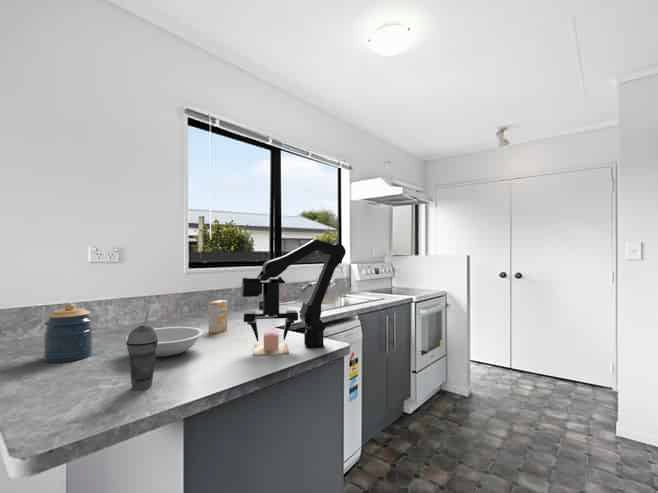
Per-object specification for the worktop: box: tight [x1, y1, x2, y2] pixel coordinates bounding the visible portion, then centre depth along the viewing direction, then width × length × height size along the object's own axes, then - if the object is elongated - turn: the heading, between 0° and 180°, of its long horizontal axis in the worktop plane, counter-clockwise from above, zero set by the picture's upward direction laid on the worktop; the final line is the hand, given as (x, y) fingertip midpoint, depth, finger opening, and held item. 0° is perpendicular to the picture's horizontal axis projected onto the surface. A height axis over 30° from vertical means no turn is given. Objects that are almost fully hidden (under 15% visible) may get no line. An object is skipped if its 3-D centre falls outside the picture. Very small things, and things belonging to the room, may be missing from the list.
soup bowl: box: [125, 326, 205, 357], centre depth 119 cm, size 24×24×7 cm
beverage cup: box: [125, 308, 158, 391], centre depth 90 cm, size 7×7×20 cm
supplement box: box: [208, 299, 229, 334], centre depth 153 cm, size 8×5×13 cm, turn 168°
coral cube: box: [263, 331, 279, 350], centre depth 125 cm, size 5×5×5 cm
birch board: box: [252, 342, 290, 357], centre depth 125 cm, size 12×12×1 cm
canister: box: [42, 302, 94, 363], centre depth 115 cm, size 13×13×18 cm
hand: (270, 340), depth 125 cm, fingers open, 9 cm apart
